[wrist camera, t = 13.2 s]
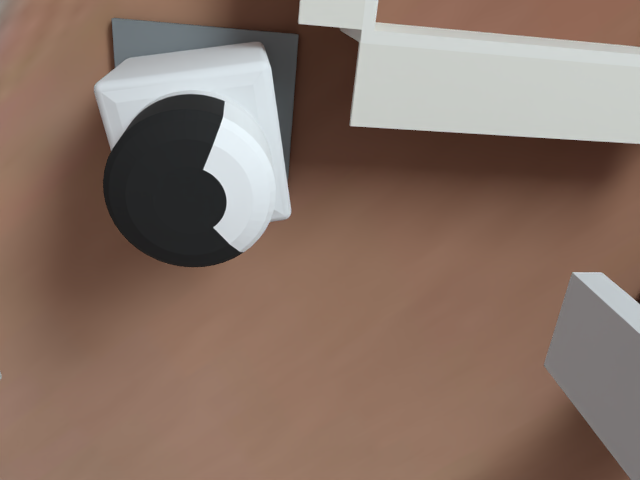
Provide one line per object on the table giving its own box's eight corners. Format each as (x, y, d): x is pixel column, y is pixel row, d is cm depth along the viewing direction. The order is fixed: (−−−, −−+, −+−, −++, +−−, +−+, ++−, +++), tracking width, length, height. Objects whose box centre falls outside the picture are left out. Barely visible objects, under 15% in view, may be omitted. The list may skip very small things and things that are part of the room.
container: (157, 188, 34) (114, 303, 22) (123, 57, 30) (51, 113, 18) (282, 170, 34) (304, 273, 23) (263, 39, 31) (277, 83, 19)
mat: (285, 197, 35) (286, 200, 35) (124, 191, 34) (123, 194, 33) (297, 34, 31) (298, 34, 31) (113, 17, 30) (111, 18, 29)
